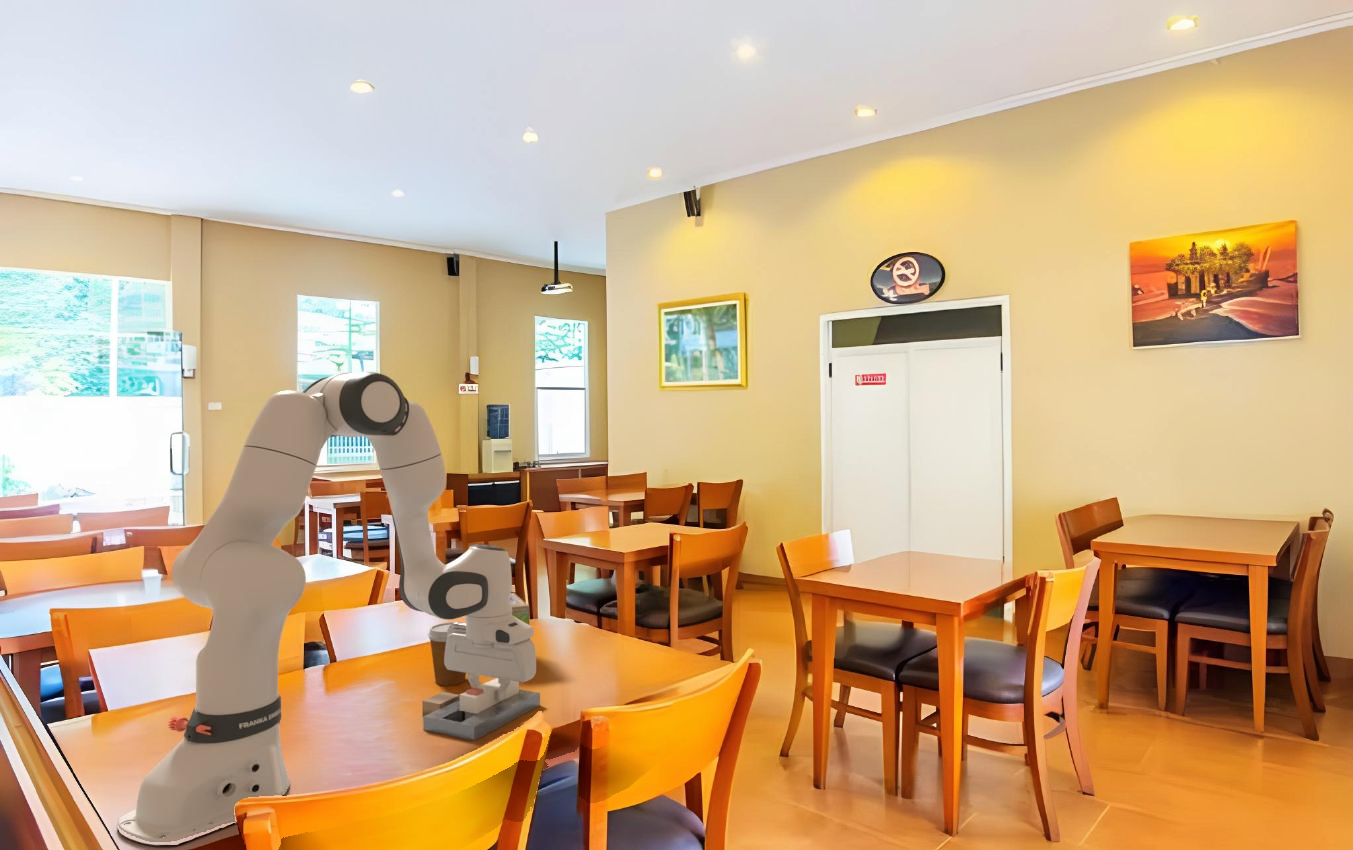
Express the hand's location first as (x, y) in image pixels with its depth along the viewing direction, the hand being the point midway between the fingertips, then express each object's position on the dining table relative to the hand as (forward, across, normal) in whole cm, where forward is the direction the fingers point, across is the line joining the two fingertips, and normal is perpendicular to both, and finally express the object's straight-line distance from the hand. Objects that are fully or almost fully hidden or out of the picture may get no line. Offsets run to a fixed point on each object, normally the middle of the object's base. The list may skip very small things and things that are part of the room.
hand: (489, 697), depth 155 cm
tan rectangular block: (+3, -9, -4) cm, 10 cm away
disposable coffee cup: (+4, -21, +12) cm, 25 cm away
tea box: (+4, -20, +30) cm, 36 cm away
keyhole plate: (+3, 0, -2) cm, 4 cm away
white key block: (+1, 0, 0) cm, 1 cm away
